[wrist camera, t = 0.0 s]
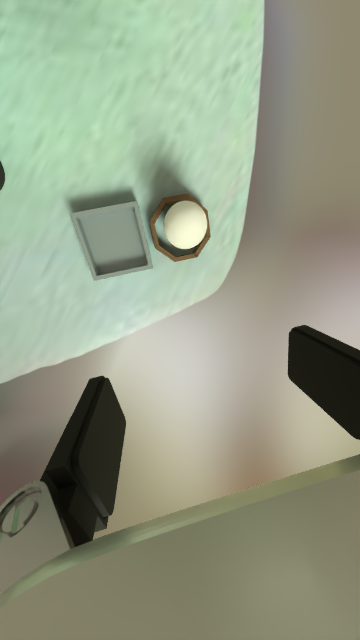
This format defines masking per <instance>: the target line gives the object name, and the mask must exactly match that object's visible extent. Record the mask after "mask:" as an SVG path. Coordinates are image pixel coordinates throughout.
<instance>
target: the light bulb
mask: <svg viewBox="0 0 360 640" xmlns="http://www.w3.org/2000/svg"><path fill="white" fill-rule="evenodd" d="M206 230H207V218H206V215H205V213H204V211H203V209H202V208H201V207H200V206H199V205H198V204H196V203H194V202H192V201H180V202H178V203H176V204H174V205H173V206H172V207H171V208H170V209H169V210H168V212H167V214H166V216H165V220H164V231H165V235H166V237H167V239H168V240H169V242H170V243H171V244H173V245H174V246H176V247H177V248H181V249H190V248H192V247H194V246H196V245H198V244H199V243H200V242H201V241H202V239H203V238H204V236H205V233H206Z"/></svg>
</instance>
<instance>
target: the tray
mask: <svg viewBox="0 0 360 640" xmlns="http://www.w3.org/2000/svg"><path fill="white" fill-rule="evenodd" d="M70 215H71V218H72V221H73V224H74V226H75V229H76V232H77V235H78V237H79V240H80V243H81V246H82V249H83V251H84V254H85V257H86V260H87V262H88V265H89V268H90V271H91V273H92V276H93V279H94V281H95V280H100V279H105V278H109V277H114V276H119V275H123V274H128V273H133V272H137V271H142V270H147V269H151V268H153V265H152V261H151V257H150V253H149V249H148V244H147V240H146V236H145V232H144V228H143V223H142V219H141V215H140V211H139V207H138V203H137V201H133V202H128V203H123V204H117V205H112V206H107V207H101V208H96V209H90V210H85V211H80V212H74V213H70Z"/></svg>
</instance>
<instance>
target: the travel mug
mask: <svg viewBox="0 0 360 640" xmlns="http://www.w3.org/2000/svg"><path fill="white" fill-rule="evenodd" d="M4 182H5V173H4V169H3V166H2V164H1V162H0V190H1V189H2V187H3V185H4Z"/></svg>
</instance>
